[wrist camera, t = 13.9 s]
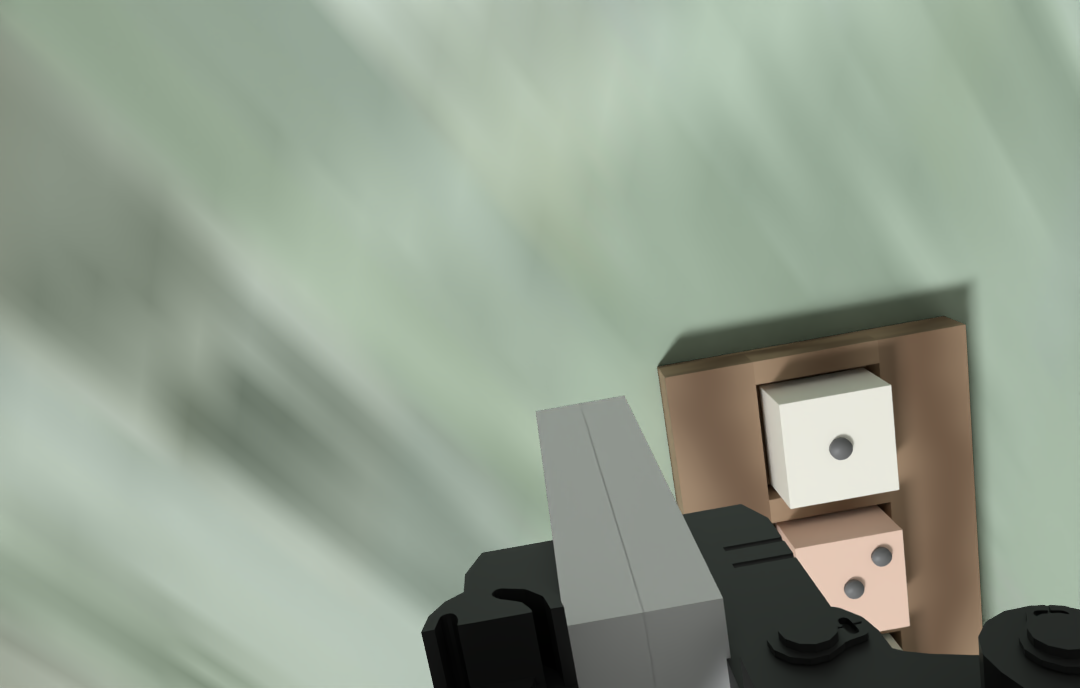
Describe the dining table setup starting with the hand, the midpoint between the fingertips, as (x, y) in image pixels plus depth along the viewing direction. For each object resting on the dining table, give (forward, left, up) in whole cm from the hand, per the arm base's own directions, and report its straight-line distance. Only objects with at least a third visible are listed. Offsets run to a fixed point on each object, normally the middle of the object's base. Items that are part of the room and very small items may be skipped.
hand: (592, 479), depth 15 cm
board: (+12, -17, -26) cm, 34 cm away
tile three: (+12, -17, -25) cm, 33 cm away
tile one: (+12, -10, -25) cm, 30 cm away
